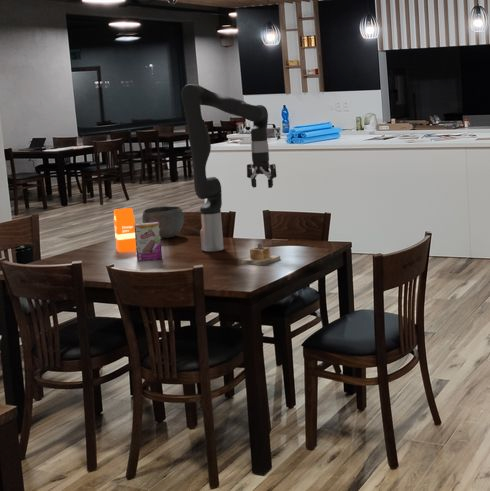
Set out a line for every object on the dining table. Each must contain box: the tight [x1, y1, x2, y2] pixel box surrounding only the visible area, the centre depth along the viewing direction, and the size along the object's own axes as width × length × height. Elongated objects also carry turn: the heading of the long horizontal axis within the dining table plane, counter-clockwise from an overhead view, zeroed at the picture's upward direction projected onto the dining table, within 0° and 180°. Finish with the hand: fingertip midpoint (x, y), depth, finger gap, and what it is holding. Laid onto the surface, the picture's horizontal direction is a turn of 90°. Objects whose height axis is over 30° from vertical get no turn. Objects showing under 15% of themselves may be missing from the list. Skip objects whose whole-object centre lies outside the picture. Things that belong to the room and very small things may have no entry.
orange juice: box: [113, 207, 136, 253], centre depth 407 cm, size 8×9×20 cm
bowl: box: [141, 205, 185, 240], centre depth 434 cm, size 21×21×15 cm
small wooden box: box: [249, 246, 271, 260], centre depth 362 cm, size 6×6×4 cm
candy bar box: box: [134, 222, 163, 262], centre depth 381 cm, size 11×5×16 cm, turn 100°
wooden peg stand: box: [240, 242, 281, 266], centre depth 362 cm, size 12×12×8 cm
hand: (262, 187), depth 382 cm, fingers open, 8 cm apart
